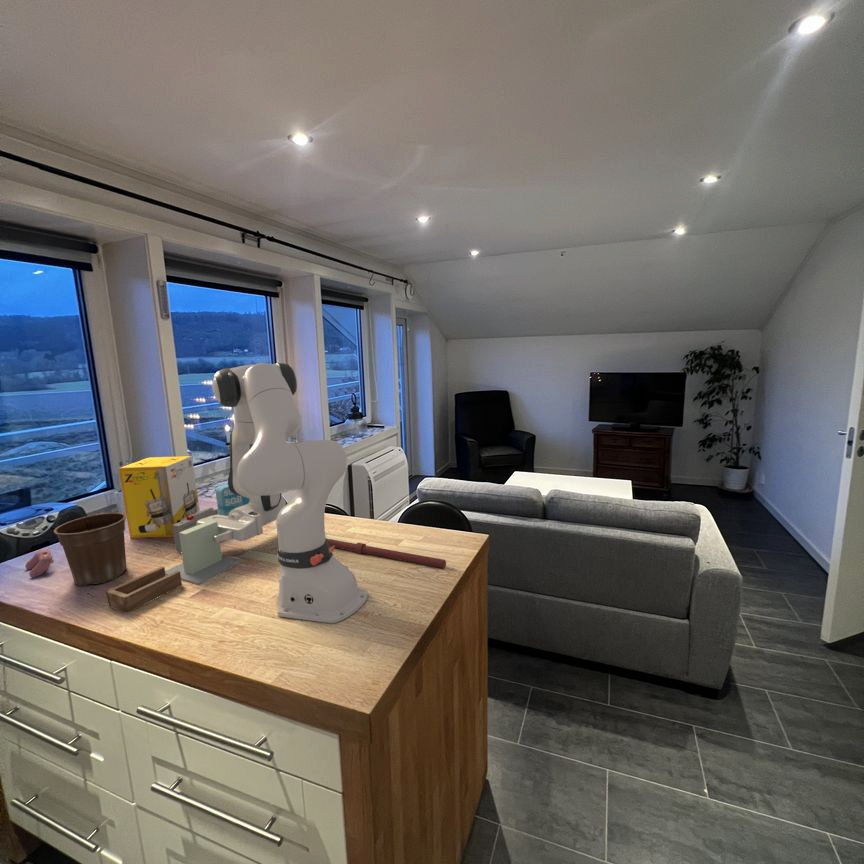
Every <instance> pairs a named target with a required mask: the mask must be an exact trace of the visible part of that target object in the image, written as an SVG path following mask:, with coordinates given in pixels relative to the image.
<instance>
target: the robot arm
mask: <svg viewBox="0 0 864 864" xmlns="http://www.w3.org/2000/svg"><path fill="white" fill-rule="evenodd" d="M211 386H212V387H211V388H212V392H213V395H214V398H216V400H217V401H218V403H219V404H220V405H222V406H223V407H227V408H233V417H234V427H233V428H231V431H230V436H229V471H228V472H229V473H228V477H227V484H228V487H229V489H230V491H231V492H232V493H233V494H236V495H240V496H244V497H246V498H249V503H248V504H245V505H243V506H240V507H238V508H235V509H233V510H231V511H230V513H229V516H224V515H219V514H218V515H213V516H209V517H206V518H203V519H200V520H198V521H197V522H196V526H197V525H200V524H202V523H205V522H207V521H210V520H212V521H217V524H218V532H219V534H216V535H214V536H213V541H214V542H220V543H221V542H222V541H227V540H235V541H238V542H239V541H240V542H241V541H247V540H249V539H251V538H254V537H255V536H260V535H262V534H263V531H264V530H263V528H264V527H265V526H267V525H269V524H271V523H273V522H275V523H276V533H277V542H278V545H277V548H276V551H277V553H276V555H277V561H278V563H279V580H278V581H279V584H278V585H279V587H278V589H279V590H278V596H277V600H276V601H277V602H276V603H277V606H278V607H277V616H278V617H282V618H290V619H296V620H302V621H303V620H304V621H309V622H310V621H312V622H319V623H325V624H326V623H327V624H336V623H338V622H341V621H343V620H346V619H347V618H349V617H351V615H353V614H355V613H356V612H357V611H358V610H360V608H361V607H362V606H363V605H364V604H366V601H367V600H368V597H369V593H368V590H367V589H364V588H362V587H359V586H358V581H357V578H356V575H355V573H354V572H353V571H352V570H350V569H349V567H348V566H347V565H344V564H343V563H342V562H341V561H340V560H339V559H337V558H336V557H335V556H334V554H333V552H334V551H336V548H335V545H334V546H332V547H330V546H329V543H328V541H327V539H328V538H327V539H326V529H325V513H326V512H325V511H326V510H325V509H326V504H327V501H328V498H329V495H330V494H331V491H332V490H333V488H334V487H335V485H336V483H337V482H338V481H339V480H340V479H341V478H342V477H344V474H345V472H346V471H347V467H348V456H347V453H346V451H345V449H344V447H343V446H342V445H341V443H339V442H338V441H336V440H330V439H329V440H328V439H314V440H310V441H309V440H307V441H301V442H295V443H289V442H288V440H289V439H290V438H291V437H293V436H294V434H297V432H298V431H299V429H300V427H301V424H302V416H301V413H300V410H299V408H298V406H297V403H296V400H295V398H294V395H295V394H296V392H297V388H298V380H297V376H296V373H295V371H294V368H293V367H292V366H290V365H289V364H288V363H283V362H282V363H281V362H276V363H269V362H268V363H267V362H260V363H256V364H245V365H240V366H239V365H238V366H236V367H231V368H228V367H227V368H223V369H220V370H218V371H216V373H215V374H214V375H213V380H212V385H211ZM250 445H251V447H250ZM293 491H295V494H294V495H293V497H292V498H291V499H290V501H289V502H286V500H285V498H284V497H283V496H282V494H283V493H289V492H293ZM263 526H264V527H263Z"/></svg>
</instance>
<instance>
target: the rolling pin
mask: <svg viewBox="0 0 864 864" xmlns="http://www.w3.org/2000/svg"><path fill="white" fill-rule="evenodd" d="M325 538H326V537H325ZM326 539H327V541H328V543H329V546H330V547H332V546H334V545H335V547H334V549H341V550H345V551H351V552H354V553H355V554H358V553H359V555H363V554H365V555H366V554H368V555H373V556H379V557H384V558H389V559H394V560H400V561H403V560H404V561H405V562H408V563H409V562H410V563H415V564H421V565H426V566H431V567H436V568H442V569H445V567H446V566H447V561H446V559H443V558H437V557H431V556H425V555H419V554H417V553H415V554H414V553H410V552H403V551H399V550H393V549H389V548H387V549H386V548H382V547H381V548H380V547H375V546H370V545H367V544H366V543H363V542H357V543H354V542H349V541H342V540H338V539H331V538H326ZM362 553H363V554H362Z"/></svg>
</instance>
